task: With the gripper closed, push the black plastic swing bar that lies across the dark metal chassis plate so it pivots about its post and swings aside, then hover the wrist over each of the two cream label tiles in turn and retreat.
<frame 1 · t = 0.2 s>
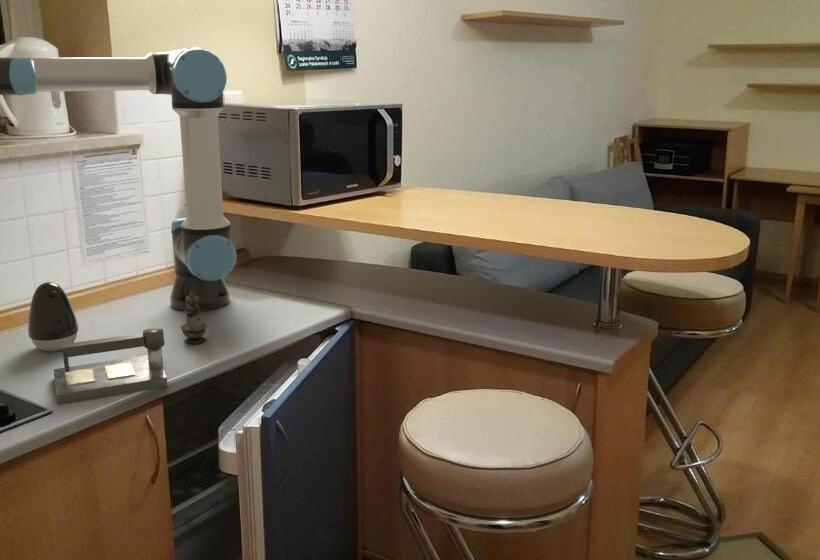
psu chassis: (110, 382, 158), on the counter
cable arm: (115, 349, 157), point 7 cm above the counter, hinge at 0.0°
grey chess piece: (195, 342, 181), on the counter
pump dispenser: (56, 348, 177), on the counter
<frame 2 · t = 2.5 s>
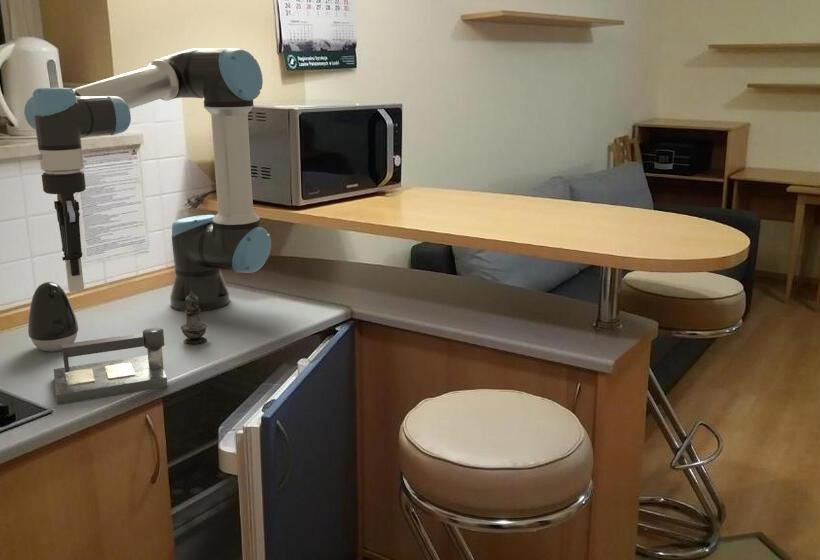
hand: (76, 289, 157), 18 cm above the counter, fingers closed
nothing on the counter moved.
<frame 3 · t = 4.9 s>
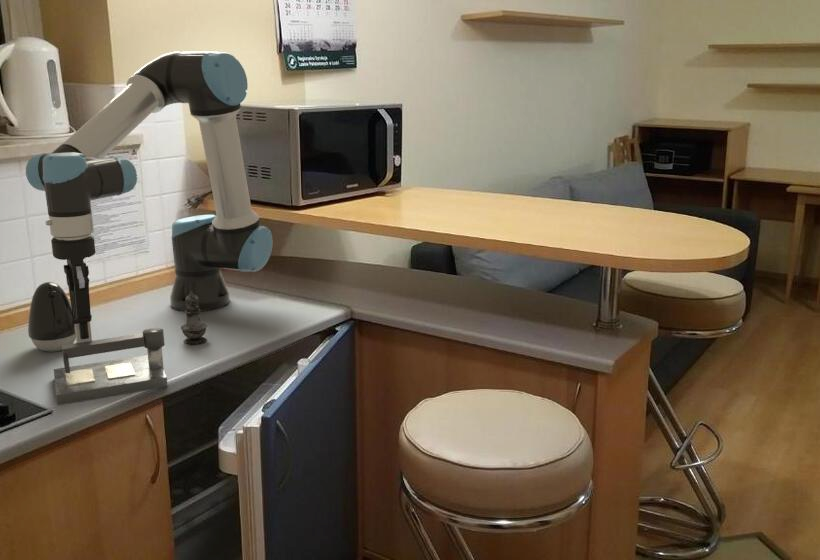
hand: (85, 352, 156), 7 cm above the counter, fingers closed
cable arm: (115, 350, 157), point 7 cm above the counter, hinge at 2.2°, touching gripper
everything else where it was.
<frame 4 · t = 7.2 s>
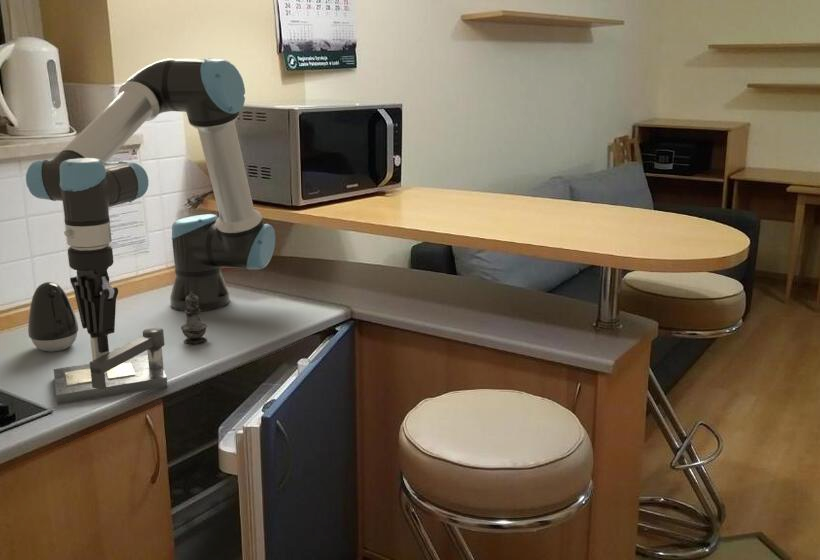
hand: (101, 366, 149), 6 cm above the counter, fingers closed
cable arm: (130, 356, 153), point 7 cm above the counter, hinge at 45.2°, touching gripper
everything else where it was.
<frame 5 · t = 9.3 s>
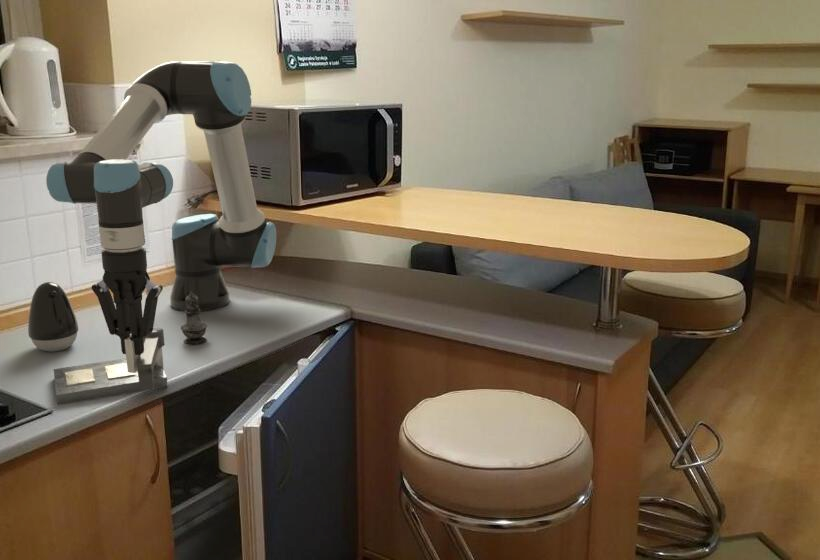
hand: (134, 370, 148), 6 cm above the counter, fingers closed
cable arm: (150, 357, 153), point 7 cm above the counter, hinge at 76.5°, touching gripper
everything else where it was.
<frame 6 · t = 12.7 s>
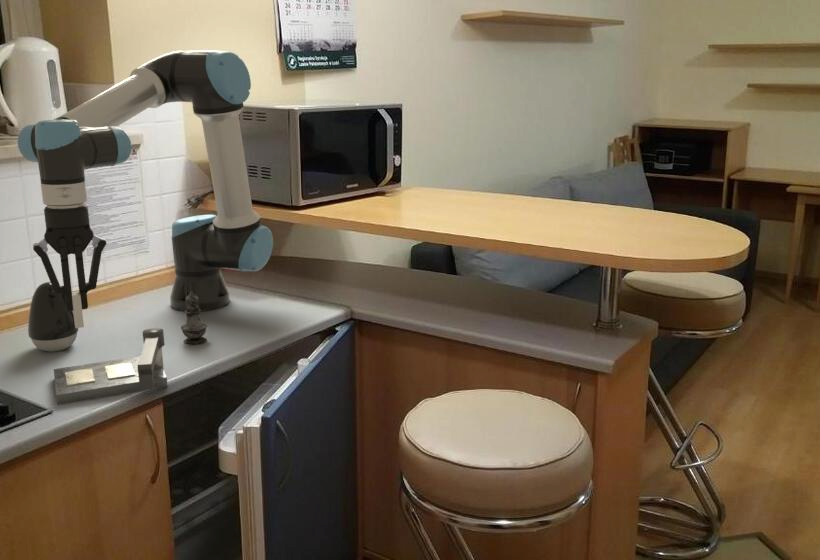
hand: (79, 325, 152), 13 cm above the counter, fingers closed
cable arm: (150, 357, 153), point 7 cm above the counter, hinge at 76.6°
everything else where it was.
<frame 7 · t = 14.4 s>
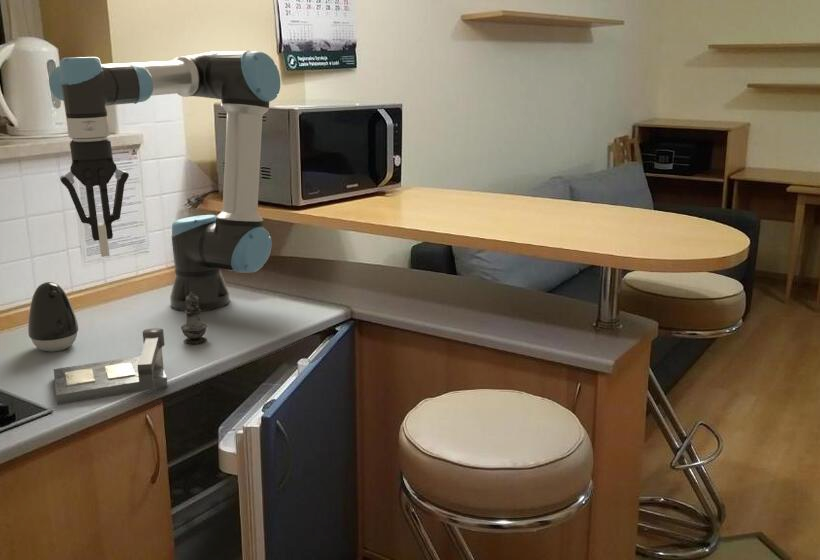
hand: (105, 254, 162), 24 cm above the counter, fingers closed
nothing on the counter moved.
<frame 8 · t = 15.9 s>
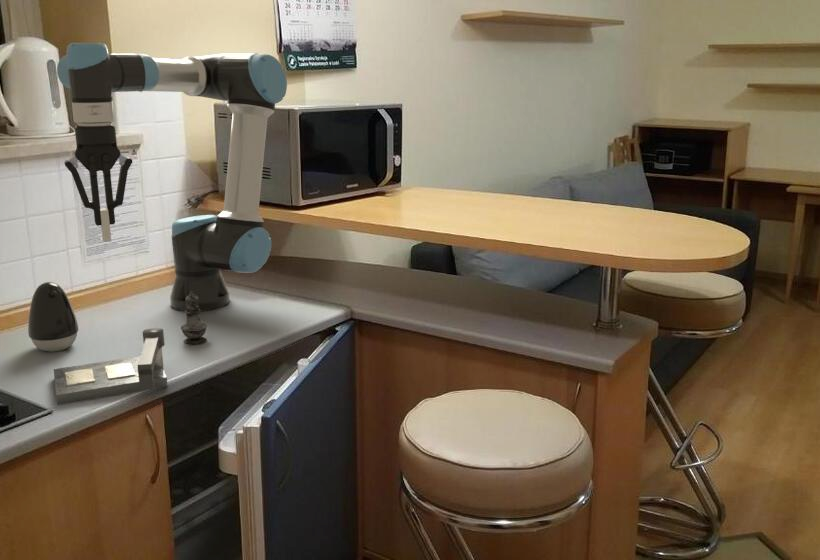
hand: (106, 240, 162), 26 cm above the counter, fingers closed
nothing on the counter moved.
at the end: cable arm at +77° (first picture: +0°) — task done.
